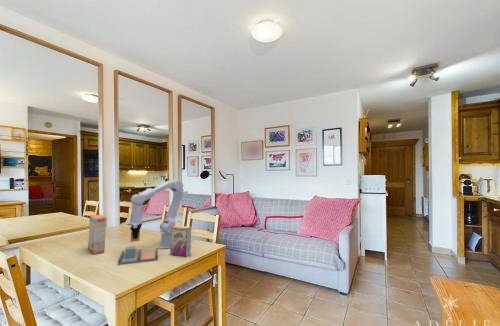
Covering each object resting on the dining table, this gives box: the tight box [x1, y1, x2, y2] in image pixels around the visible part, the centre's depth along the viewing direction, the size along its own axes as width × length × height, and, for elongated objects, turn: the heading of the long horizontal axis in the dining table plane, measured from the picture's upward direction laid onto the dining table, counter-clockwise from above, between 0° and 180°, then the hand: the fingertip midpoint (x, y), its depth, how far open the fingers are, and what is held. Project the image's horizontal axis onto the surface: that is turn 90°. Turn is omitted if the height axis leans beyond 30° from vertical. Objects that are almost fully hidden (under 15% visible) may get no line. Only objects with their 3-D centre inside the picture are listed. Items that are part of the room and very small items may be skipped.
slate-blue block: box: [124, 245, 136, 259], centre depth 124 cm, size 4×4×5 cm
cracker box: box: [87, 214, 108, 255], centre depth 136 cm, size 14×6×21 cm, turn 47°
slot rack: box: [117, 247, 159, 266], centre depth 125 cm, size 19×14×2 cm
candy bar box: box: [170, 224, 192, 258], centre depth 132 cm, size 11×5×16 cm, turn 71°
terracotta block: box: [130, 230, 141, 243], centre depth 133 cm, size 4×4×5 cm
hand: (135, 237), depth 133 cm, fingers closed on terracotta block, 4 cm apart
